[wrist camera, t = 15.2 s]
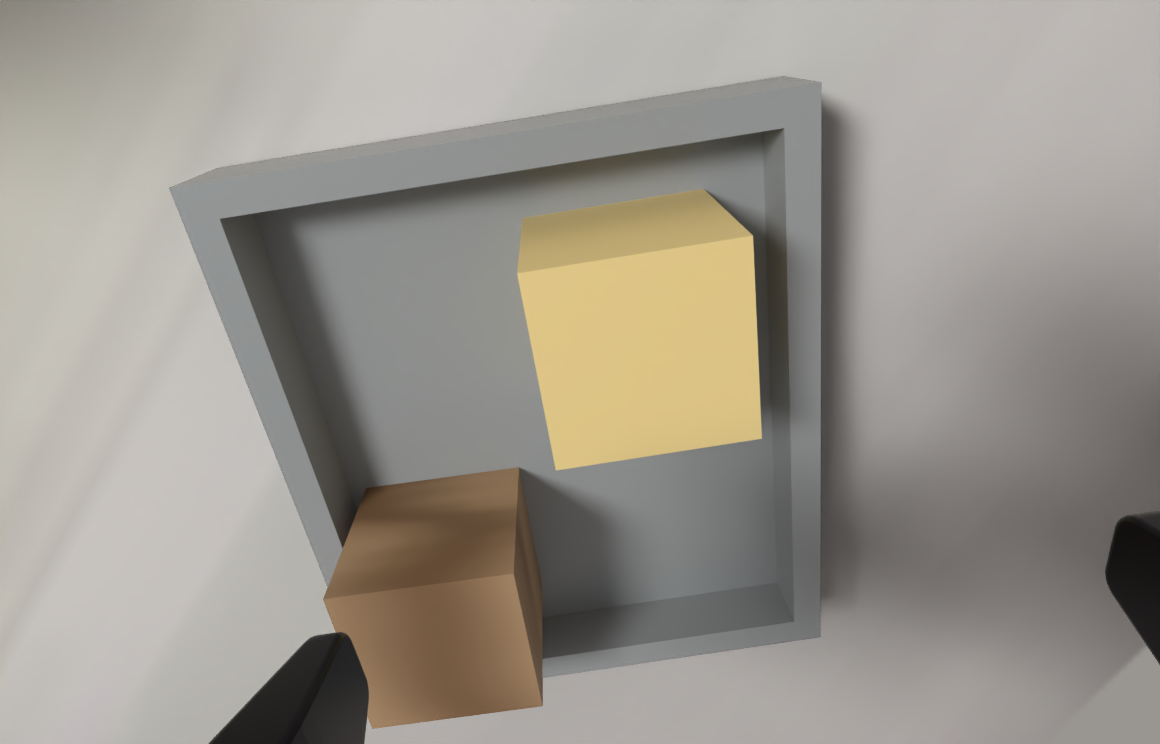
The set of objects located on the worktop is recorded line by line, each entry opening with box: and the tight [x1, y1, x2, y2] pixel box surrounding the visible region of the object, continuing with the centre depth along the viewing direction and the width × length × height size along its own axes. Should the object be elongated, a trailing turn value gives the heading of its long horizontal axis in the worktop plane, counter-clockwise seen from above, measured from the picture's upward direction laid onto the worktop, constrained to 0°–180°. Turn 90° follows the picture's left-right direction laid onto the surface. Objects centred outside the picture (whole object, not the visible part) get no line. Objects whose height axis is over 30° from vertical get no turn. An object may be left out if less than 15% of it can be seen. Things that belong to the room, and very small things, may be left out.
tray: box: [169, 76, 821, 678], centre depth 20 cm, size 14×16×2 cm
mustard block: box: [517, 189, 762, 470], centre depth 16 cm, size 4×4×4 cm
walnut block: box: [323, 467, 543, 729], centre depth 19 cm, size 4×4×4 cm
